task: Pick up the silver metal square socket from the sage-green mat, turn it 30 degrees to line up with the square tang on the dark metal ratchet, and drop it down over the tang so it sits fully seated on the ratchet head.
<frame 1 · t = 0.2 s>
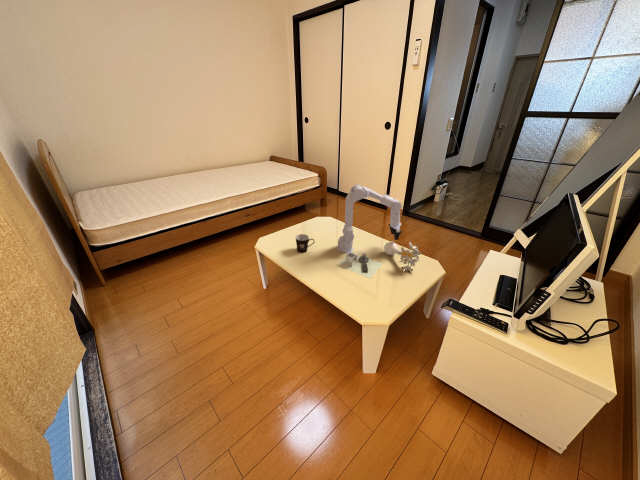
hand: (394, 236, 162), 11 cm above the table, tool pointing down, fingers open, 7 cm apart
coffee mug: (304, 251, 163), on the table
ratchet: (363, 260, 154), resting on mat
mat: (360, 264, 151), on the table
socket: (350, 263, 151), resting on mat
flower vase: (398, 262, 156), on the table
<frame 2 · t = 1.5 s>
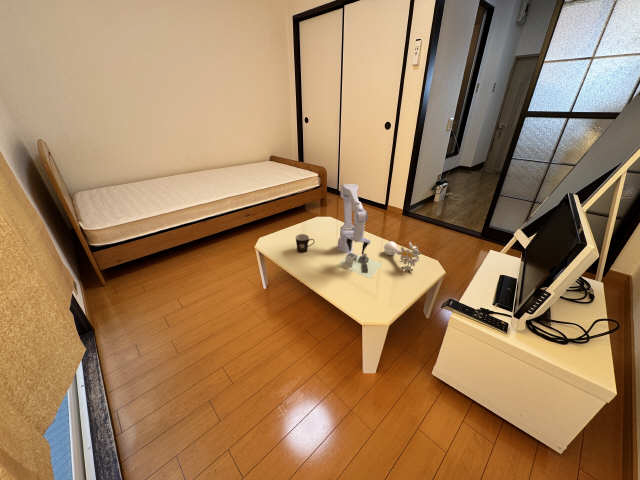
hand: (356, 251, 146), 10 cm above the table, tool pointing down, fingers open, 7 cm apart
nothing on the table moved.
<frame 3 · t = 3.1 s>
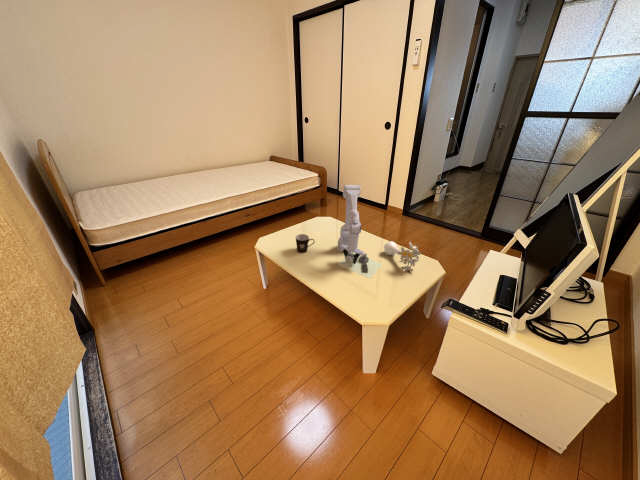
hand: (350, 261, 150), 2 cm above the table, tool pointing down, fingers closed on socket, 5 cm apart
socket: (350, 263, 151), resting on mat, touching gripper
everything else where it was.
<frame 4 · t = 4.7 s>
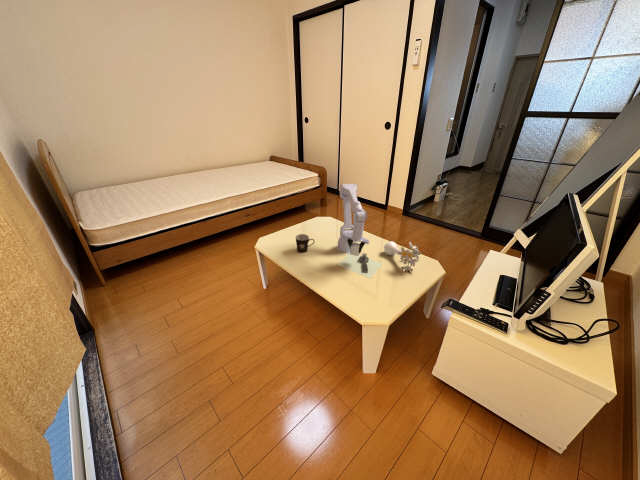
hand: (355, 251, 148), 9 cm above the table, tool pointing down, fingers closed on socket, 5 cm apart
socket: (355, 253, 149), point 7 cm above the table, touching gripper
everything else where it was.
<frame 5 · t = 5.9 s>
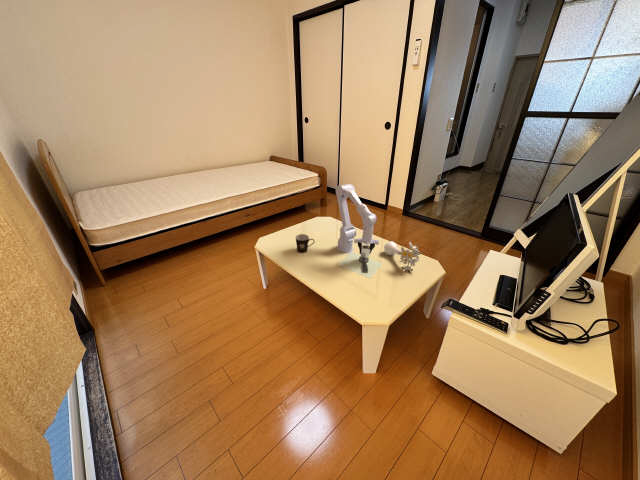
hand: (364, 253, 152), 6 cm above the table, tool pointing down, fingers closed on socket, 5 cm apart
socket: (364, 255, 152), point 4 cm above the table, touching gripper
everything else where it was.
when the fingers open (5 cm above the table, at t = 6.7 s): socket drops 1 cm, resting on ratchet.
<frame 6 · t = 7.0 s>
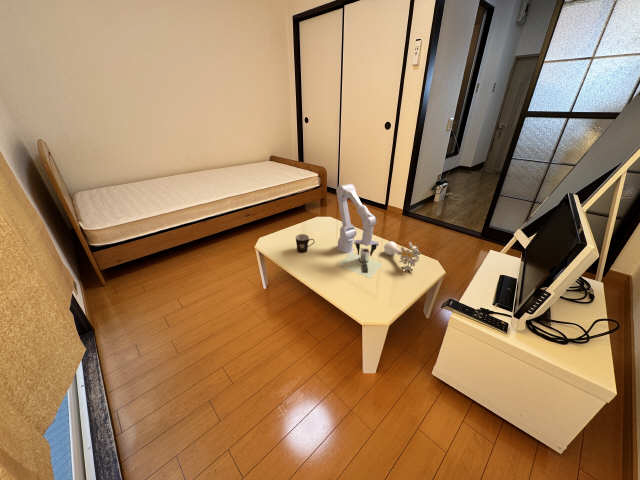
hand: (364, 254, 152), 5 cm above the table, tool pointing down, fingers open, 7 cm apart
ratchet: (363, 260, 154), resting on mat, touching socket
socket: (363, 258, 154), point 2 cm above the table, touching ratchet
everything else where it was.
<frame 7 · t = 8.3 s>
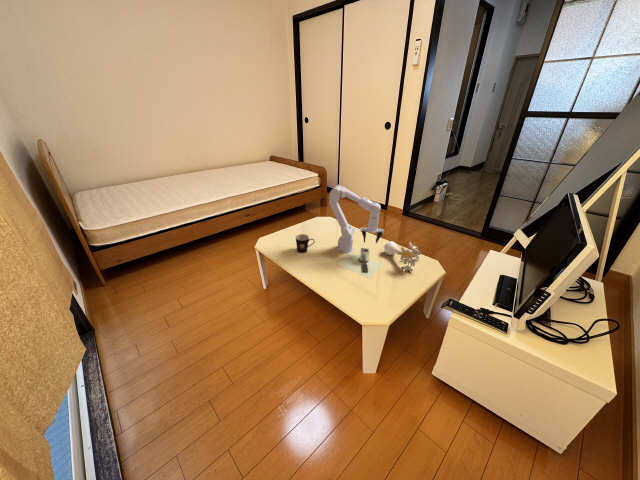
hand: (370, 242, 157), 9 cm above the table, tool pointing down, fingers open, 7 cm apart
nothing on the table moved.
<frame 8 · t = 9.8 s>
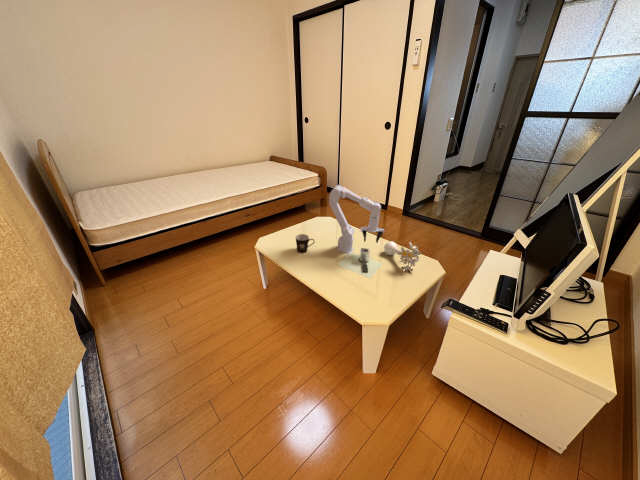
hand: (370, 241, 158), 9 cm above the table, tool pointing down, fingers open, 7 cm apart
nothing on the table moved.
at the end: socket 0.0 cm from the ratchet (horizontally); socket point 2.0 cm above the table; socket tilted 0° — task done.
